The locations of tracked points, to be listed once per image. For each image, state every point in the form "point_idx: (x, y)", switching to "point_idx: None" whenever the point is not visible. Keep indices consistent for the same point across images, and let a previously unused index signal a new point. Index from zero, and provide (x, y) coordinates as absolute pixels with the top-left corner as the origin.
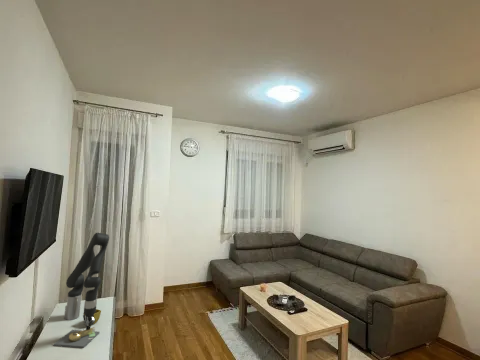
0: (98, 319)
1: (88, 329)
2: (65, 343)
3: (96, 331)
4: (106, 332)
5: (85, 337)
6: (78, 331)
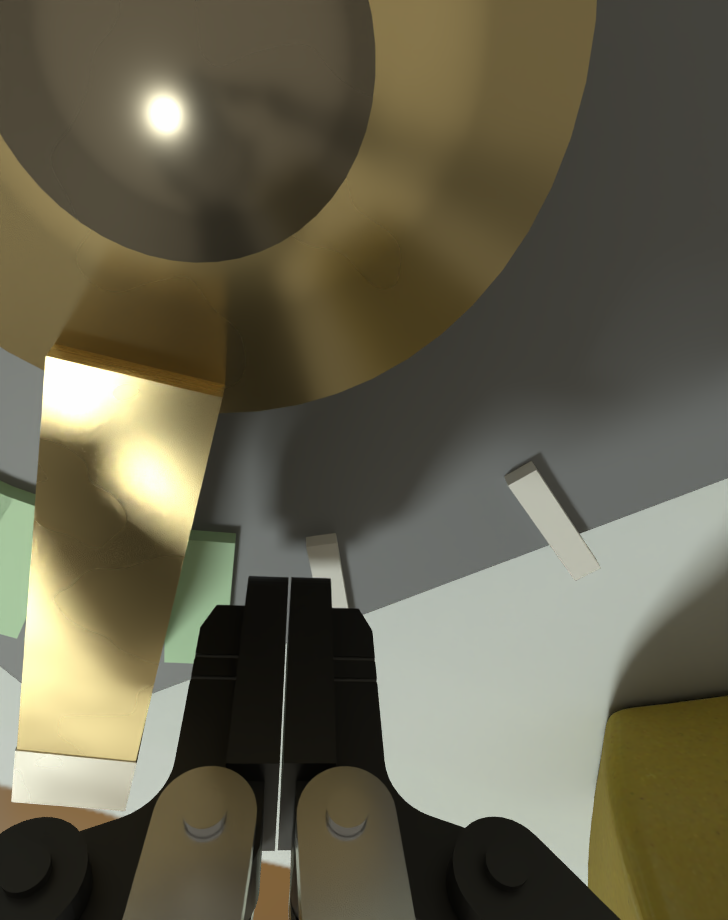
0: (589, 887)
1: (95, 662)
2: None
3: (152, 692)
4: (6, 762)
5: (18, 379)
6: (352, 347)
